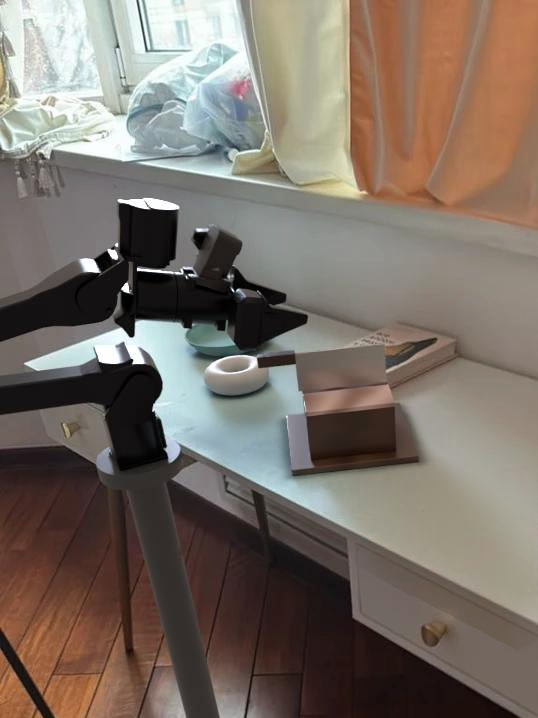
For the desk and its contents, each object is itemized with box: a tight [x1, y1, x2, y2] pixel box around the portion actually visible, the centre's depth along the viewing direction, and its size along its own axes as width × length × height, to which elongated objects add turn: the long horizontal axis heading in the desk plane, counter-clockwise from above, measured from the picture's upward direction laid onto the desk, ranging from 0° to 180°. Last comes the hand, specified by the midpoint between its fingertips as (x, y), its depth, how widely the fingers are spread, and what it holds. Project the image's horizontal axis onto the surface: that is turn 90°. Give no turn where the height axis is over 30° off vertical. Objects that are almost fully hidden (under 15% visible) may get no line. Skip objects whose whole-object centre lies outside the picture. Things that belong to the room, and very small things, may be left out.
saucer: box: [183, 321, 249, 357], centre depth 143 cm, size 15×15×3 cm
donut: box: [203, 354, 270, 397], centre depth 129 cm, size 10×4×10 cm
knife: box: [256, 342, 388, 392], centre depth 107 cm, size 16×1×5 cm, turn 95°
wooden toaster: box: [286, 378, 420, 476], centre depth 111 cm, size 16×16×7 cm
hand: (296, 308), depth 107 cm, fingers open, 9 cm apart
